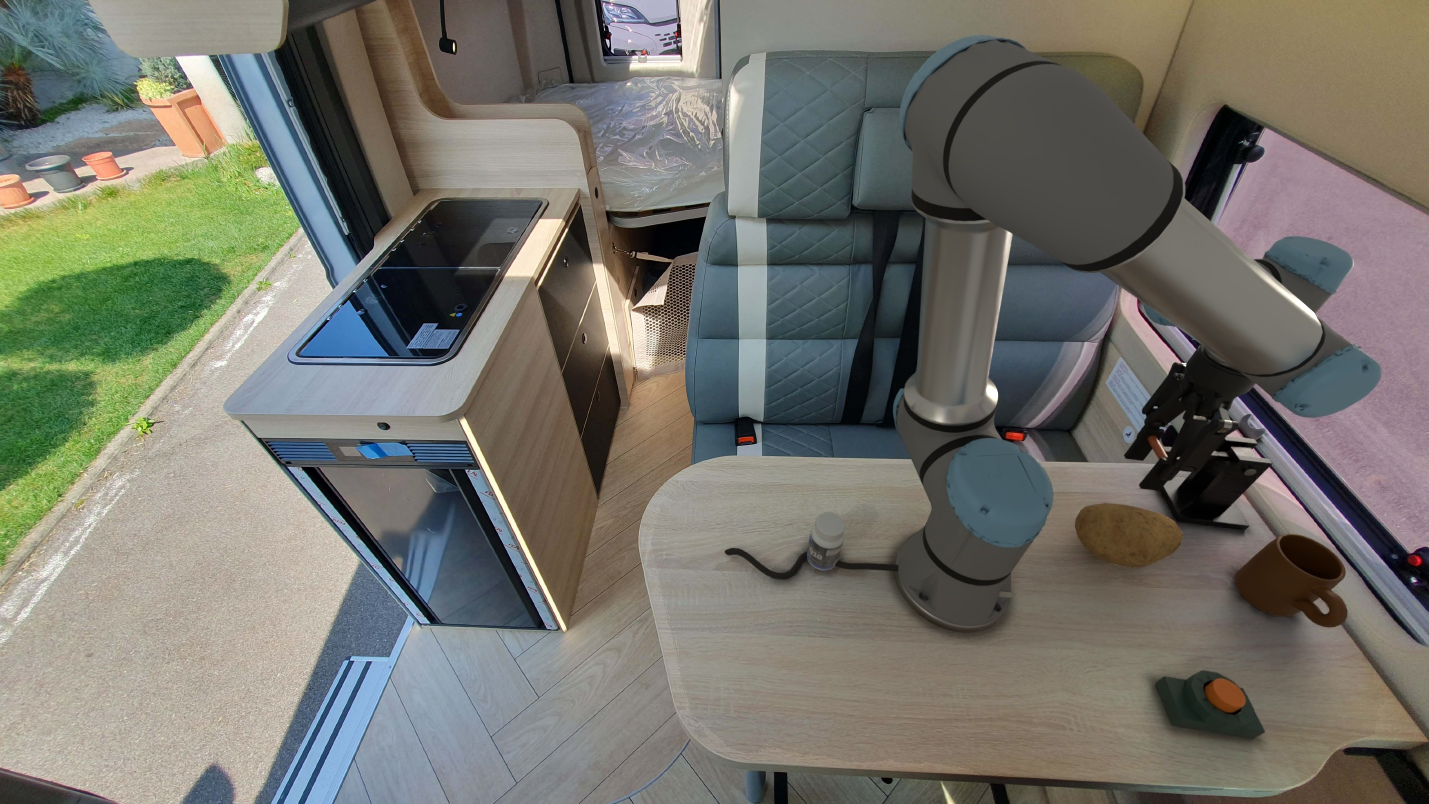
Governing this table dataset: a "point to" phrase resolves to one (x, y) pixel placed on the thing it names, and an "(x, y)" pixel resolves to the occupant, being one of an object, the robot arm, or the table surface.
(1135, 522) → the potato
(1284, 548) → the mug
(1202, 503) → the bracket
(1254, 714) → the button block
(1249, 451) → the lever
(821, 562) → the pill bottle
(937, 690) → the table surface
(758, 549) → the table surface
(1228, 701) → the button
